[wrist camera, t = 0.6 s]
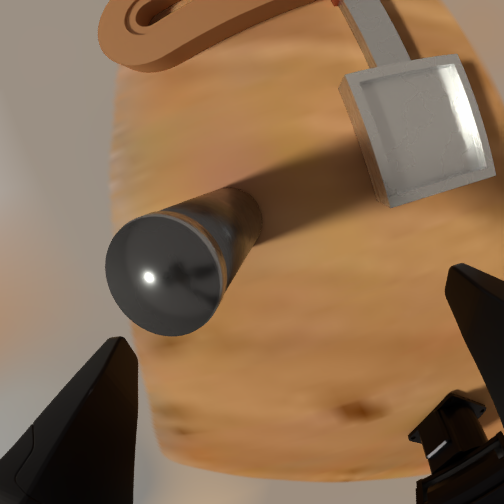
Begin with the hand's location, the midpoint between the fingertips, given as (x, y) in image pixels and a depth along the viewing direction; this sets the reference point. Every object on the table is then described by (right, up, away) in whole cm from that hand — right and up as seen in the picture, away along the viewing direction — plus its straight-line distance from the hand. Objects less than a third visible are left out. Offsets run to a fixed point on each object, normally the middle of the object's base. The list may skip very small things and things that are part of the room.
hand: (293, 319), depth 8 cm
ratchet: (+8, +14, +9) cm, 18 cm away
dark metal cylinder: (-3, +4, +13) cm, 14 cm away
